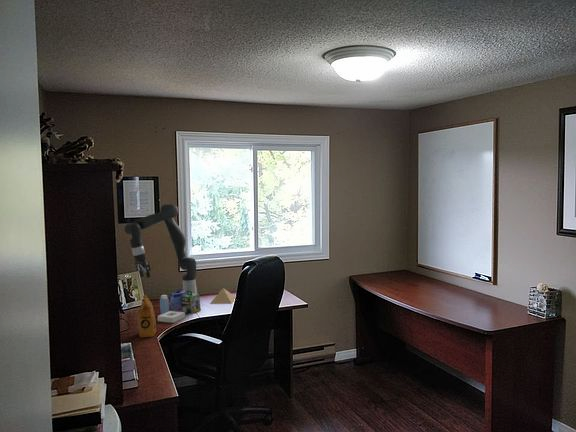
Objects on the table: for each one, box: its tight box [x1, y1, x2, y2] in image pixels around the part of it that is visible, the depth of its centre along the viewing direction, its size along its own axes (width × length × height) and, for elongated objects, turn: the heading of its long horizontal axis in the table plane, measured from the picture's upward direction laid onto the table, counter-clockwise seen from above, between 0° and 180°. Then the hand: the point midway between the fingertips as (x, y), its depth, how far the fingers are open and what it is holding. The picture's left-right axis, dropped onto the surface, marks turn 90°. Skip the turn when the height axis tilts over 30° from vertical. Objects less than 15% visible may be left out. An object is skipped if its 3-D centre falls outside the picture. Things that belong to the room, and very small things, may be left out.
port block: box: [157, 310, 186, 324], centre depth 285 cm, size 12×12×4 cm
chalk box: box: [181, 290, 201, 315], centre depth 302 cm, size 9×9×15 cm
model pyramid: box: [209, 288, 236, 305], centre depth 327 cm, size 17×17×10 cm
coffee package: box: [137, 294, 157, 339], centre depth 257 cm, size 10×12×22 cm
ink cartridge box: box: [169, 289, 186, 312], centre depth 307 cm, size 10×6×14 cm, turn 135°
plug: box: [159, 294, 170, 315], centre depth 297 cm, size 4×4×13 cm
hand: (145, 277), depth 290 cm, fingers open, 8 cm apart
